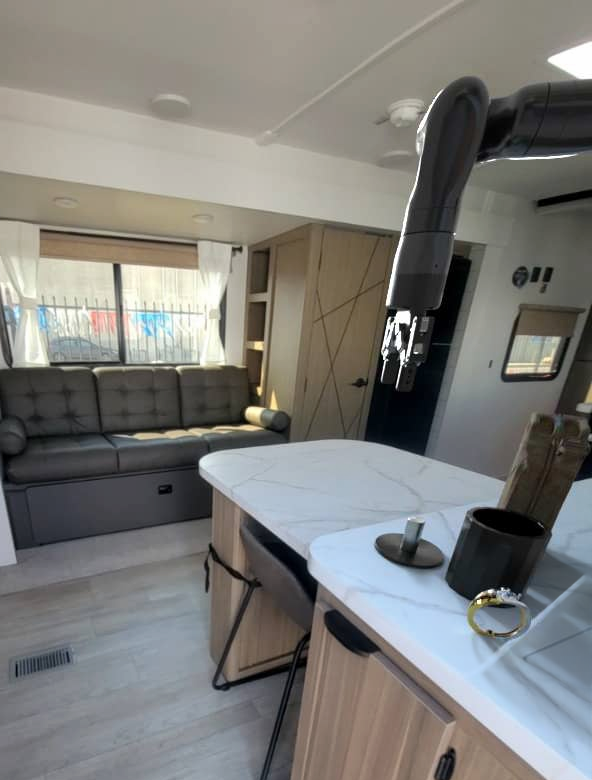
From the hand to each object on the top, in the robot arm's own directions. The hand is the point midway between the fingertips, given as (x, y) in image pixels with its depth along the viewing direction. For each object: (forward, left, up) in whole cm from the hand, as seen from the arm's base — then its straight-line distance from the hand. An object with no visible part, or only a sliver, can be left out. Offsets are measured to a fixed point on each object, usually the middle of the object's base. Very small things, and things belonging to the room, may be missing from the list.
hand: (394, 387), depth 67 cm
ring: (+7, +27, -29) cm, 40 cm away
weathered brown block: (-21, +18, -29) cm, 40 cm away
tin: (-4, +21, -29) cm, 36 cm away
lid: (-4, +8, -29) cm, 30 cm away
